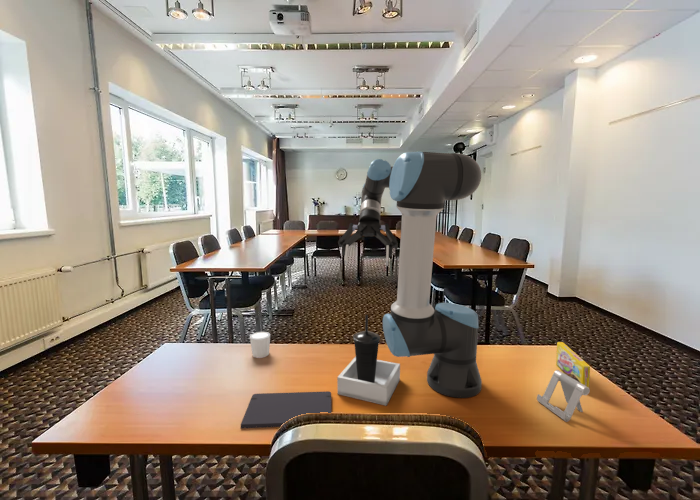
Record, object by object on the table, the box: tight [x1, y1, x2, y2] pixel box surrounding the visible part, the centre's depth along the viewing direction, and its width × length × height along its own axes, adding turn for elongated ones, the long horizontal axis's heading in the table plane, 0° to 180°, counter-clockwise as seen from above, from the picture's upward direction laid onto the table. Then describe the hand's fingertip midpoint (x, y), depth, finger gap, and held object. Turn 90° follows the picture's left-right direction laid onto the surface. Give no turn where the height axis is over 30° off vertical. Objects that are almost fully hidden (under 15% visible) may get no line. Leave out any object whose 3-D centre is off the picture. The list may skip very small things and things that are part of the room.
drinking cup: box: [352, 314, 381, 383], centre depth 96 cm, size 8×8×20 cm
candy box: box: [555, 341, 591, 389], centre depth 100 cm, size 16×2×8 cm, turn 171°
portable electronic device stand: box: [536, 369, 590, 423], centre depth 85 cm, size 9×8×8 cm
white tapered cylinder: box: [249, 331, 271, 359], centre depth 116 cm, size 7×7×7 cm
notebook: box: [240, 390, 332, 429], centre depth 85 cm, size 13×2×21 cm
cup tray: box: [336, 356, 401, 407], centre depth 96 cm, size 14×14×5 cm
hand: (366, 263), depth 110 cm, fingers open, 13 cm apart
